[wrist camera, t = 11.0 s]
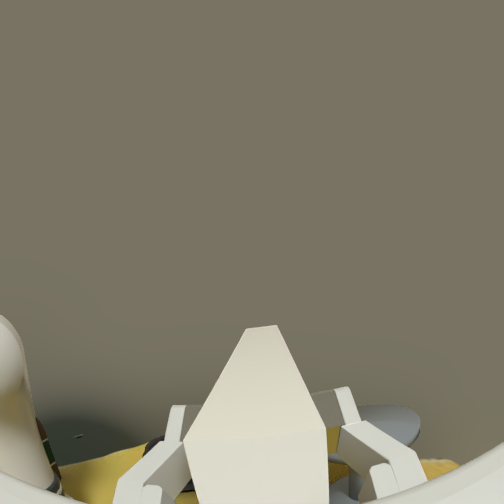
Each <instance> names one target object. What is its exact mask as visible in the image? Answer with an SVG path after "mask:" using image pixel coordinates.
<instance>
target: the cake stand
mask: <svg viewBox="0 0 504 504" xmlns="http://www.w3.org/2000/svg"><path fill="white" fill-rule="evenodd" d="M357 410H358V413H359V416H360V418H361V421H365V420H366V421H367V422H369V423H371V424H372V425H374V426H375V427H377V428H378V429H380V430H381V431H383V432H384V433H386V434H387V435H389V436H391V437H392V438H394V439H395V440H397V441H399V442H400V443H402V444H403V445H405V446H407V447H408V448H409V447H410V446H411V445H412V444H413V443H414V442H415V441H416V440H417V438H418V436H419V433H420V418H419V416H418V415H417V414H416V413H415V412H414V411H412V410H410V409H408V408H405V407H400V406H394V405H367V406H360V407H357ZM328 462H332V463H337V464H346V465H348V464H347V463H346V462H344V461H343V460H342V459H341V458H340V457H339V456H338V455H337V453H335V454H329V455H328ZM364 482H365V479H364V478H363V477H361V476H360V475H359V474H358V473H357V472H356V471H355V470H353V469H352V468H351V467H350V466H349V476H346V477H343V478H341V479H339V480H337V481H335V482H334V483H332V484H331V485H330V486H329V504H360V503H359V499H358V495H359V493H360V491H361V489H362V486H363V484H364Z"/></svg>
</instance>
